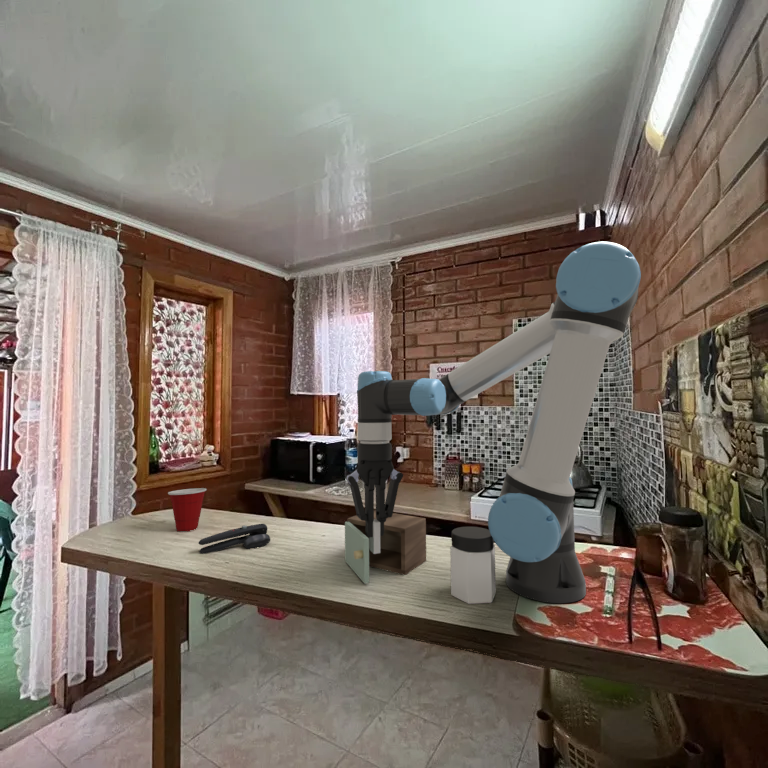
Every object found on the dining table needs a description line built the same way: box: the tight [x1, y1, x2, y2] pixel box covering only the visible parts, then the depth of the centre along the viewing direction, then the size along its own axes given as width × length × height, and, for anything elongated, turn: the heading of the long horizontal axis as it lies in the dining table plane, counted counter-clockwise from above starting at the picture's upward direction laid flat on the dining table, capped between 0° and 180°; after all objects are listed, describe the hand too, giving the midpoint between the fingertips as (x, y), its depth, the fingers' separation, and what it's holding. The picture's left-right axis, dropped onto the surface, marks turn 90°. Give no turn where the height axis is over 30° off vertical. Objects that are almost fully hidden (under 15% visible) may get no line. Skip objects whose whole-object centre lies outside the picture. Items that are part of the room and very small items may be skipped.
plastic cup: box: [167, 487, 208, 532], centre depth 127 cm, size 11×11×12 cm
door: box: [344, 521, 370, 584], centre depth 92 cm, size 14×3×9 cm, turn 22°
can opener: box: [198, 523, 271, 555], centre depth 110 cm, size 18×7×6 cm, turn 118°
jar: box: [449, 526, 497, 605], centre depth 82 cm, size 9×8×12 cm
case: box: [346, 509, 427, 576], centre depth 100 cm, size 16×10×10 cm, turn 57°
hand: (374, 551), depth 90 cm, fingers closed
